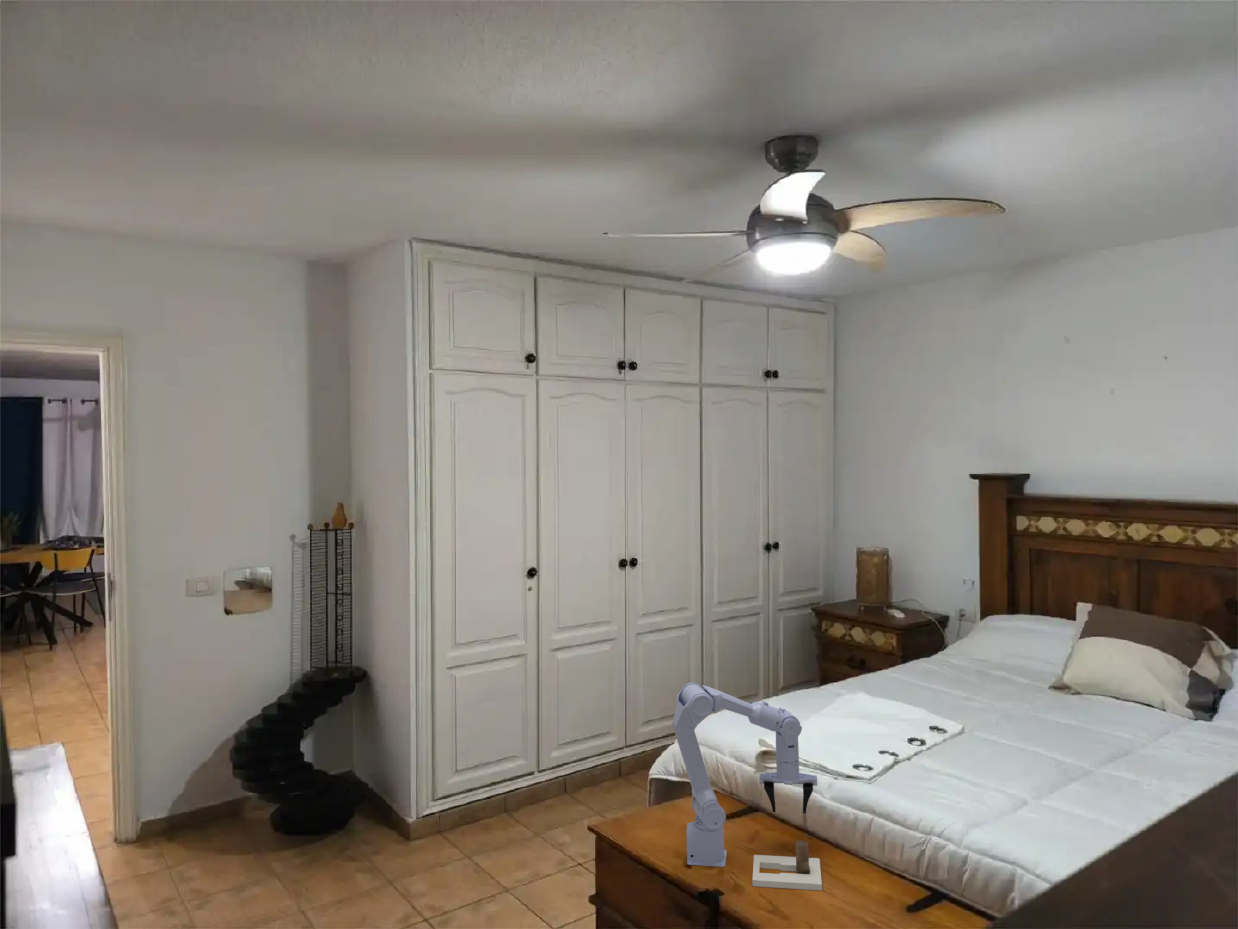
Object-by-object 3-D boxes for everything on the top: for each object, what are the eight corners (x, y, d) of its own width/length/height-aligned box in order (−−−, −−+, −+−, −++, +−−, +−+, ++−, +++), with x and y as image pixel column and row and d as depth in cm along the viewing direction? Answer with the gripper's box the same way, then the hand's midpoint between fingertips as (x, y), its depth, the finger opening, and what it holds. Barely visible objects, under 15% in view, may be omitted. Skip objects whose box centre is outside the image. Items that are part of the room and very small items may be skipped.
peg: (796, 879, 200) (795, 846, 200) (796, 872, 203) (795, 840, 203) (809, 879, 200) (808, 846, 200) (809, 873, 203) (808, 840, 202)
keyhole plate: (752, 886, 198) (752, 880, 198) (754, 860, 210) (753, 854, 210) (822, 890, 195) (821, 884, 195) (819, 864, 207) (819, 858, 207)
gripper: (758, 764, 212) (760, 816, 213) (817, 766, 210) (818, 819, 210) (759, 753, 219) (760, 804, 220) (815, 755, 217) (817, 807, 217)
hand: (789, 811), depth 215 cm, fingers open, 7 cm apart
